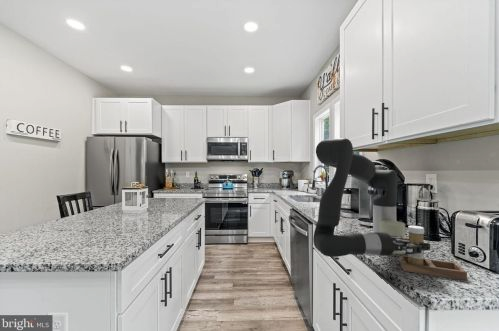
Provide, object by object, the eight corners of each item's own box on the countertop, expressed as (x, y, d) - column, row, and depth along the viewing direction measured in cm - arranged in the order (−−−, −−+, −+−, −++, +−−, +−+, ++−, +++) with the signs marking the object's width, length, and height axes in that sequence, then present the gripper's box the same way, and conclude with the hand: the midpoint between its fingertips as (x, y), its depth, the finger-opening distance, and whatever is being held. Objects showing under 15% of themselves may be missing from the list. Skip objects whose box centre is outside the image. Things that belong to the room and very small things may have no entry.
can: (393, 246, 107) (392, 218, 107) (411, 253, 98) (410, 223, 98) (374, 247, 105) (374, 219, 105) (391, 255, 96) (391, 224, 96)
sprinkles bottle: (409, 262, 86) (409, 224, 87) (424, 266, 83) (425, 226, 83) (406, 266, 83) (406, 226, 83) (422, 270, 80) (423, 229, 80)
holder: (399, 262, 89) (399, 255, 89) (456, 269, 82) (456, 262, 82) (403, 270, 81) (403, 263, 81) (467, 280, 74) (466, 272, 74)
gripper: (386, 238, 76) (440, 239, 76) (364, 227, 90) (409, 228, 91) (386, 263, 76) (440, 263, 76) (363, 248, 90) (409, 248, 90)
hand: (423, 244), depth 83 cm, fingers closed on sprinkles bottle, 4 cm apart
